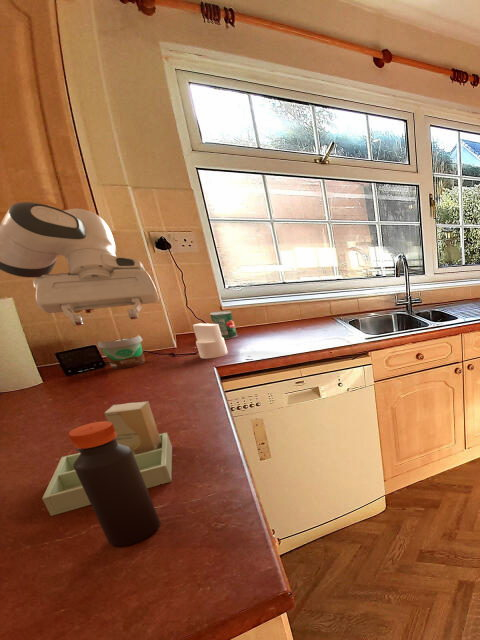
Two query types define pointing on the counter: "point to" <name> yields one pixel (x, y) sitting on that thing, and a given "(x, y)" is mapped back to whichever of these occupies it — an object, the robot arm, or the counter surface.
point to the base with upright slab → (209, 341)
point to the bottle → (113, 484)
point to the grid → (71, 494)
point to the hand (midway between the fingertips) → (106, 320)
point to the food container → (123, 352)
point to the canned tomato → (224, 323)
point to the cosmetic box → (135, 426)
